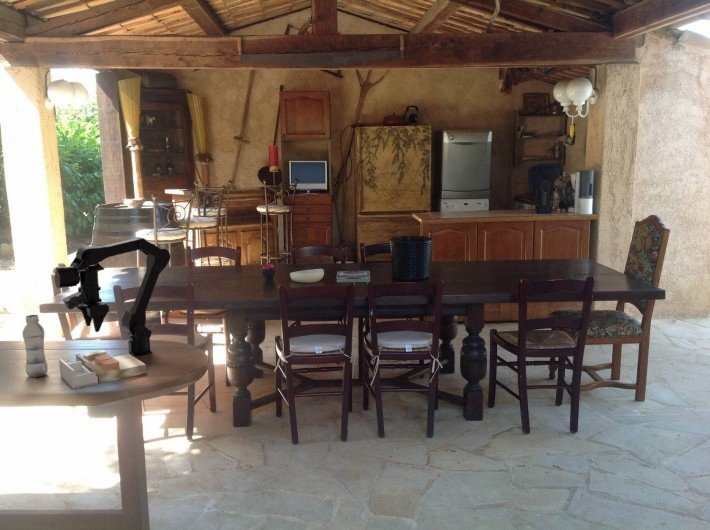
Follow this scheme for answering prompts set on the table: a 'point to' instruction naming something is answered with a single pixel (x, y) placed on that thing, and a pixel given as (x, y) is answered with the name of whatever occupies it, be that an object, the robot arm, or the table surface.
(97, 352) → the scraper
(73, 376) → the box
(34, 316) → the plastic bottle
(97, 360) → the tile
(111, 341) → the table surface
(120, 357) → the board
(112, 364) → the tile
